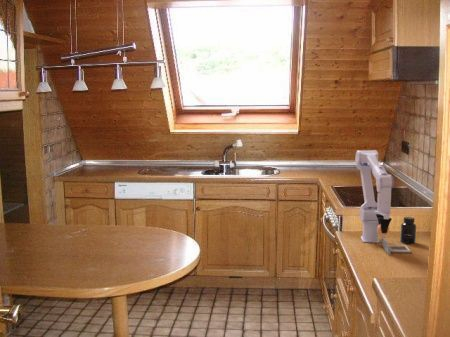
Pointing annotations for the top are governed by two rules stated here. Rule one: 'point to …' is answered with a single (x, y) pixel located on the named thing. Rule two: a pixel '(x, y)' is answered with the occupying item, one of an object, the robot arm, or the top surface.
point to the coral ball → (380, 230)
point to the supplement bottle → (408, 231)
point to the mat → (400, 249)
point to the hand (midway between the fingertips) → (383, 231)
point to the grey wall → (386, 245)
